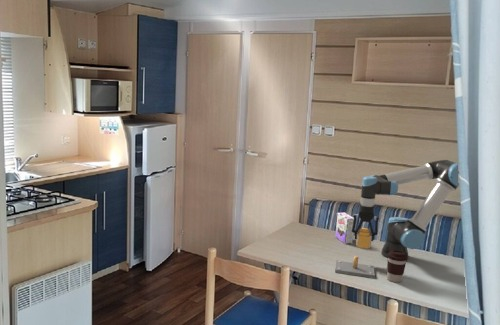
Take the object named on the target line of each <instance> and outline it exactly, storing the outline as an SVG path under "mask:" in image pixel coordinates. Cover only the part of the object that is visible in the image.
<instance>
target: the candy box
mask: <svg viewBox="0 0 500 325" xmlns="http://www.w3.org/2000/svg"><path fill="white" fill-rule="evenodd" d="M336 214H337V216H336V224H335V232H334V237H335V238H336V239H337V240H339V241H340V242H341V243H343V244H344V245H353V242H354V237H355V233H353V232H352V227H353V221H354V216H351V214H348V213H346V212H337V213H336Z"/></svg>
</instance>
